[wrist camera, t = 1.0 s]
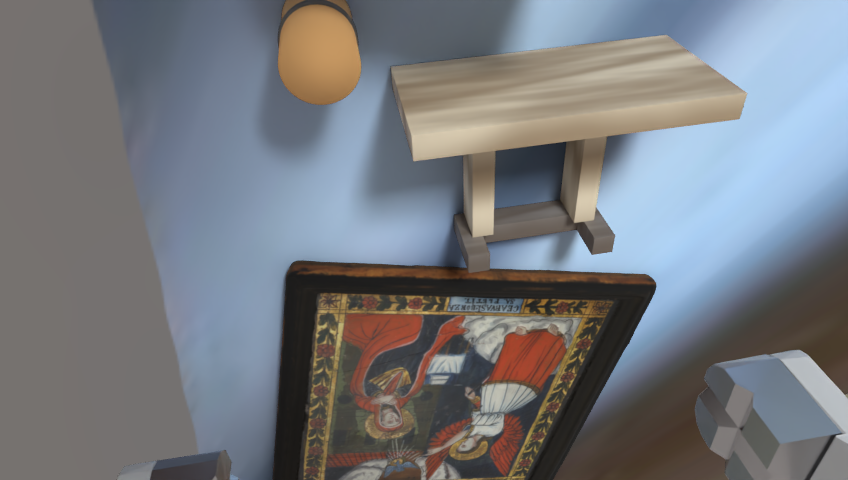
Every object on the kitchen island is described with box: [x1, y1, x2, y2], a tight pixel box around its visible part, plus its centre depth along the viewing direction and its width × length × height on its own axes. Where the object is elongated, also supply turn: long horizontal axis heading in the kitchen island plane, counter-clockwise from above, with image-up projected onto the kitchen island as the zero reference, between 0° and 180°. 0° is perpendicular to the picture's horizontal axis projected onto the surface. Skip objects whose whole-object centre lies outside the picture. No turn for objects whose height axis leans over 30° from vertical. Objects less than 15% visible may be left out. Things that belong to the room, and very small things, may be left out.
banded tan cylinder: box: [278, 0, 361, 105], centre depth 32 cm, size 4×4×7 cm
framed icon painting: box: [273, 261, 656, 480], centre depth 58 cm, size 38×35×3 cm
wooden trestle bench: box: [391, 35, 747, 273], centre depth 38 cm, size 14×18×9 cm
